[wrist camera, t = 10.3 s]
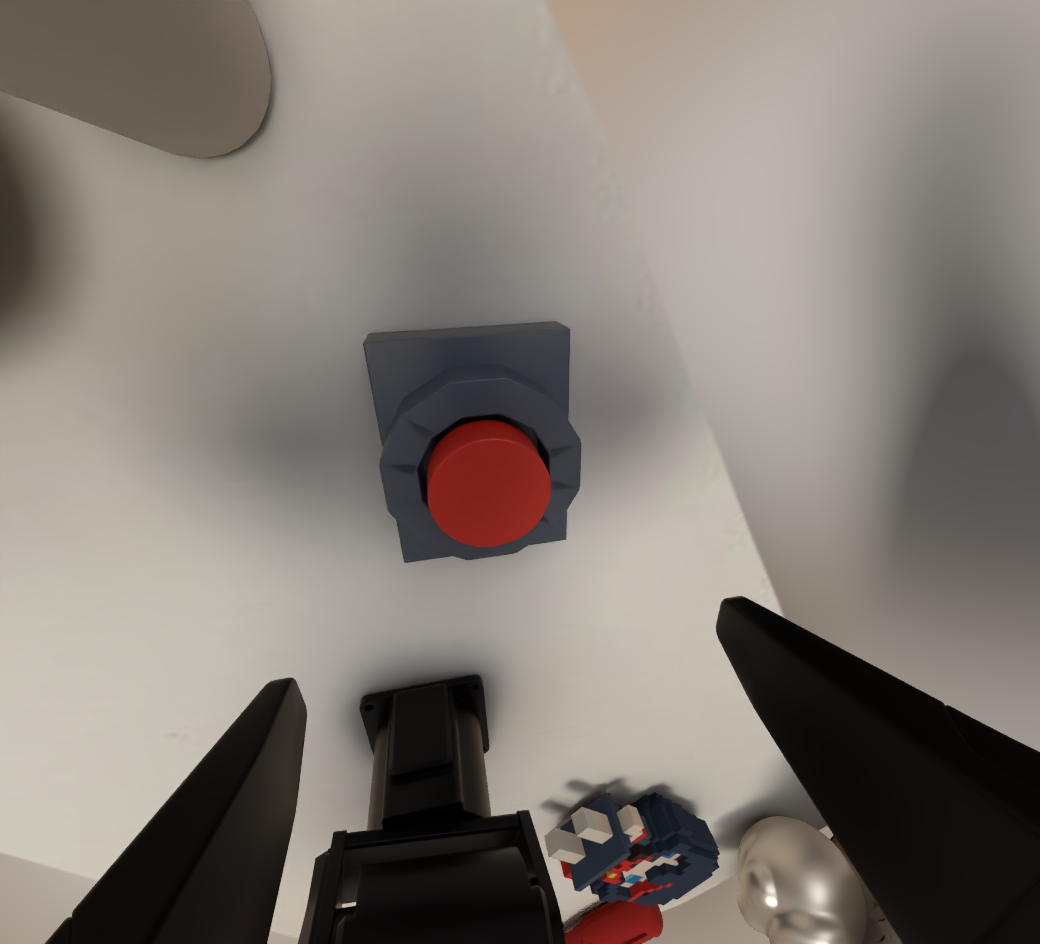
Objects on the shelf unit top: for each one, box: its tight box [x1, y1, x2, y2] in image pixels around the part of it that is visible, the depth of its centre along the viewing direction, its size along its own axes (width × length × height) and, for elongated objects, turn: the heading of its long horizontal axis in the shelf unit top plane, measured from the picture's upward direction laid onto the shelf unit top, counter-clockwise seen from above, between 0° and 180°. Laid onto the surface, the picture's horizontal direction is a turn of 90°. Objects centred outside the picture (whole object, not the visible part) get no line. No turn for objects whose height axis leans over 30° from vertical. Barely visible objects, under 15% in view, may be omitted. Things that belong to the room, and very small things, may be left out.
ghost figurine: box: [737, 816, 867, 944], centre depth 36 cm, size 9×10×10 cm
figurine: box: [545, 792, 720, 907], centre depth 33 cm, size 9×4×15 cm
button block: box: [363, 322, 581, 563], centre depth 17 cm, size 9×7×4 cm
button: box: [427, 420, 551, 547], centre depth 15 cm, size 4×4×2 cm
